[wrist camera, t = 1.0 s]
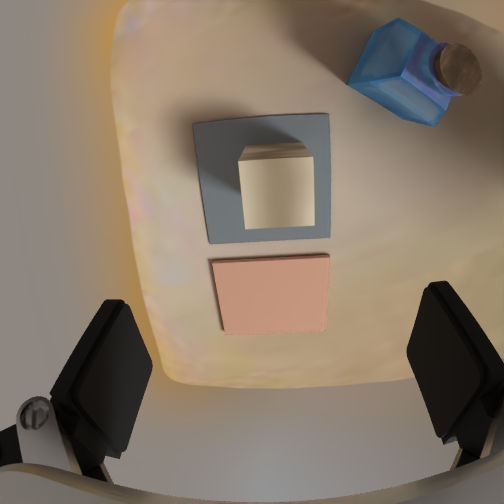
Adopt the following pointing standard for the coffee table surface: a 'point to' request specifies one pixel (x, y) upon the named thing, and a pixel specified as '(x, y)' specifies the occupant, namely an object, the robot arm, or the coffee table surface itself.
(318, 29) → the coffee table surface
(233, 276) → the pad
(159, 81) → the coffee table surface
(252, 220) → the maple block
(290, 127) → the gray tile
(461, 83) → the perfume bottle
